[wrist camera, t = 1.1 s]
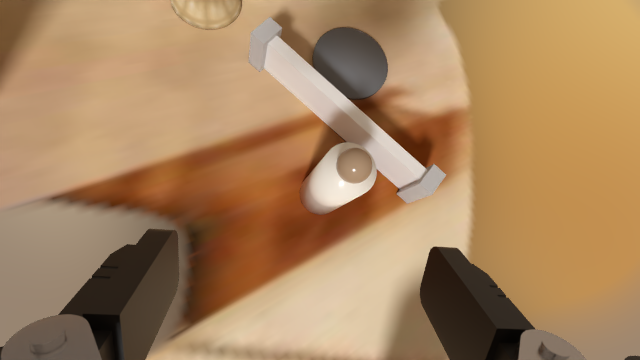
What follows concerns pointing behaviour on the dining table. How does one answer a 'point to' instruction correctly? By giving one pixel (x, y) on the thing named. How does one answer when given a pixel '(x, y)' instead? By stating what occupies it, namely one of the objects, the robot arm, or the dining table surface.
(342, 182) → the shaker
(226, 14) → the hand bell
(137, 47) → the dining table surface
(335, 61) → the coaster
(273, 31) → the rail
